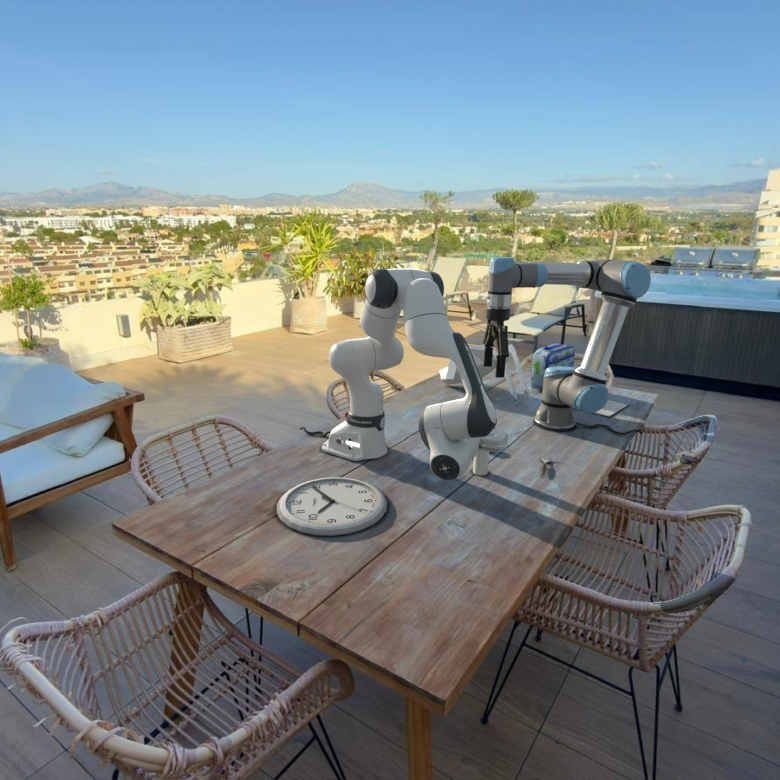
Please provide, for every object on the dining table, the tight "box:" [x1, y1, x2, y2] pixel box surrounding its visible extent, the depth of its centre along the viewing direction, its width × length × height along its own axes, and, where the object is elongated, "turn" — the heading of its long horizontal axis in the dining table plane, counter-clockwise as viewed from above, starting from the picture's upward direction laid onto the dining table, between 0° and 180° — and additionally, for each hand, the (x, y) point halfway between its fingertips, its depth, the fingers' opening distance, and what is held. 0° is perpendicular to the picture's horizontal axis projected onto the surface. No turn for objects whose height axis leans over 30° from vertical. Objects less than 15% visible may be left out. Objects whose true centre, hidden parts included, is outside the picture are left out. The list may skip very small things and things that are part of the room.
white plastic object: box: [438, 343, 531, 400], centre depth 245 cm, size 37×45×31 cm
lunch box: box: [530, 343, 576, 391], centre depth 249 cm, size 26×11×21 cm, turn 134°
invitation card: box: [594, 399, 629, 418], centre depth 226 cm, size 21×1×15 cm
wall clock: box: [276, 476, 388, 537], centre depth 142 cm, size 30×2×30 cm
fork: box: [541, 451, 552, 476], centre depth 168 cm, size 3×16×2 cm, turn 160°
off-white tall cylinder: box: [472, 450, 490, 476], centre depth 161 cm, size 5×5×17 cm
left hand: (475, 426), depth 147 cm, fingers open, 8 cm apart
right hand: (493, 371), depth 172 cm, fingers open, 13 cm apart
